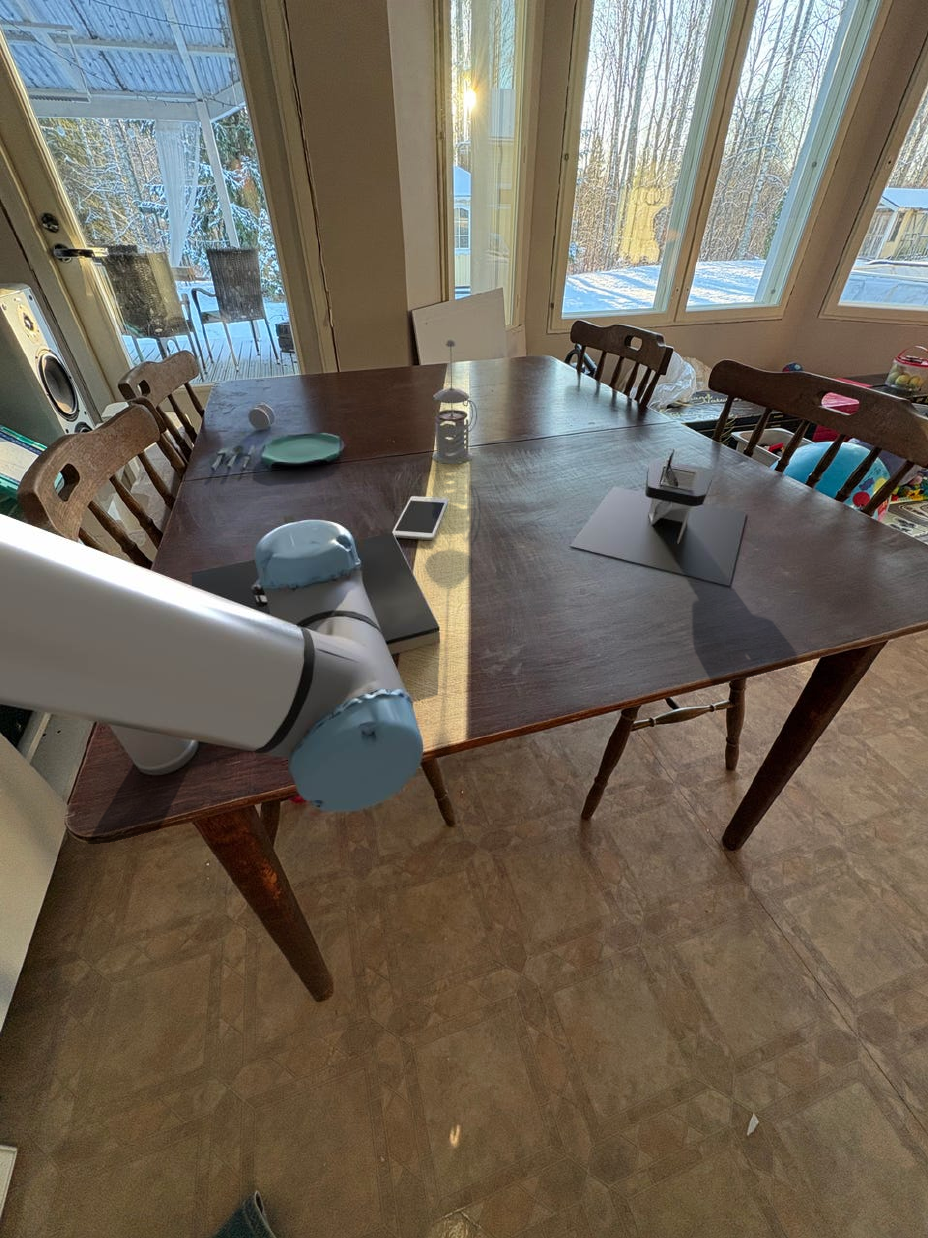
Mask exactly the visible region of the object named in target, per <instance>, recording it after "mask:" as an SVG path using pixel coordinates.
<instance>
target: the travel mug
mask: <svg viewBox="0 0 928 1238" xmlns="http://www.w3.org/2000/svg"><path fill="white" fill-rule="evenodd" d="M107 725H108V726H109V727H110V729H111V731H112V732H113V734H114V735H115V736H116V738H117V740H118V741H119V742H120V744H121V746H122V747H123V749H124V750H125V751H126V753H127V754H128V756H129V757H130V759H131V760H132V762H133V763H134V765H135V767H136V768H137V769H138V770H139V771H140V772H141V773H143V774H145V775H148V776H162V775H166V774H170V773H172V772H174V771H177V770H179V769H181V768H182V767H183V766H185V765H186V764H187V763H189V761H191V759H192V758H193V757H194V756H195V754H196V752H197V750H198V748H199V742H200V741H195V740H190V739H184V738H179V737H174V736H168V735H163V734H158V733H152V732H147V731H142V730H136V729H131V728H126V727H120V726H115V725H110V724H107Z"/></svg>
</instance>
